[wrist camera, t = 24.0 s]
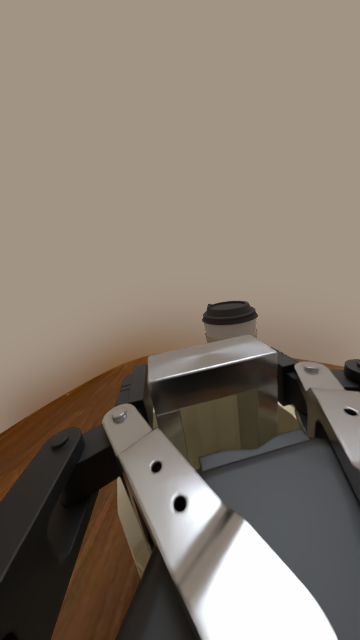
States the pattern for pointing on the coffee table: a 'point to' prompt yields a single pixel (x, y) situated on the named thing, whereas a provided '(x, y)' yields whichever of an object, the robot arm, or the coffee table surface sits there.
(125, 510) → the crock
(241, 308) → the coffee cup
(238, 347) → the tongs
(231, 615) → the robot arm
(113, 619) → the coffee table surface
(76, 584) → the coffee table surface
